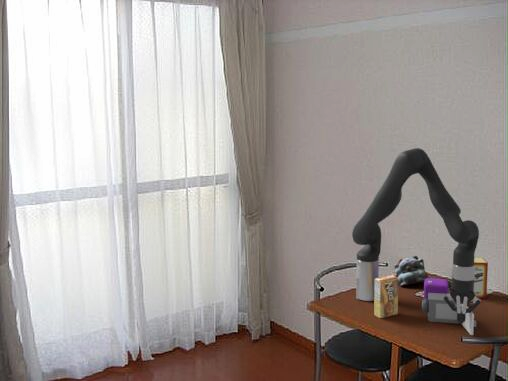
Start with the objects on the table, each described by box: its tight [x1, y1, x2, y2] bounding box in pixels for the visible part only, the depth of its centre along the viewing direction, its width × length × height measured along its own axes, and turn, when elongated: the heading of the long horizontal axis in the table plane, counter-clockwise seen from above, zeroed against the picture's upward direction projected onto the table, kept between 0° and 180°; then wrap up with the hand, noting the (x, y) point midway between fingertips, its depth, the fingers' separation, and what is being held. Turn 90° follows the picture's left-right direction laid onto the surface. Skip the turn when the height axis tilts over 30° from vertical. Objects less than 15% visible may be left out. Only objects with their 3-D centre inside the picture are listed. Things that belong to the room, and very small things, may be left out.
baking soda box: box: [474, 257, 489, 299], centre depth 234 cm, size 10×6×16 cm
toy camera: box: [423, 277, 451, 299], centre depth 229 cm, size 11×14×10 cm
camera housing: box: [421, 293, 462, 325], centre depth 211 cm, size 14×7×10 cm, turn 76°
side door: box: [460, 304, 477, 336], centre depth 200 cm, size 11×2×8 cm, turn 178°
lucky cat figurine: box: [393, 255, 429, 287], centre depth 252 cm, size 15×12×14 cm
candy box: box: [373, 274, 399, 319], centre depth 216 cm, size 9×4×15 cm, turn 116°
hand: (461, 322), depth 197 cm, fingers closed
